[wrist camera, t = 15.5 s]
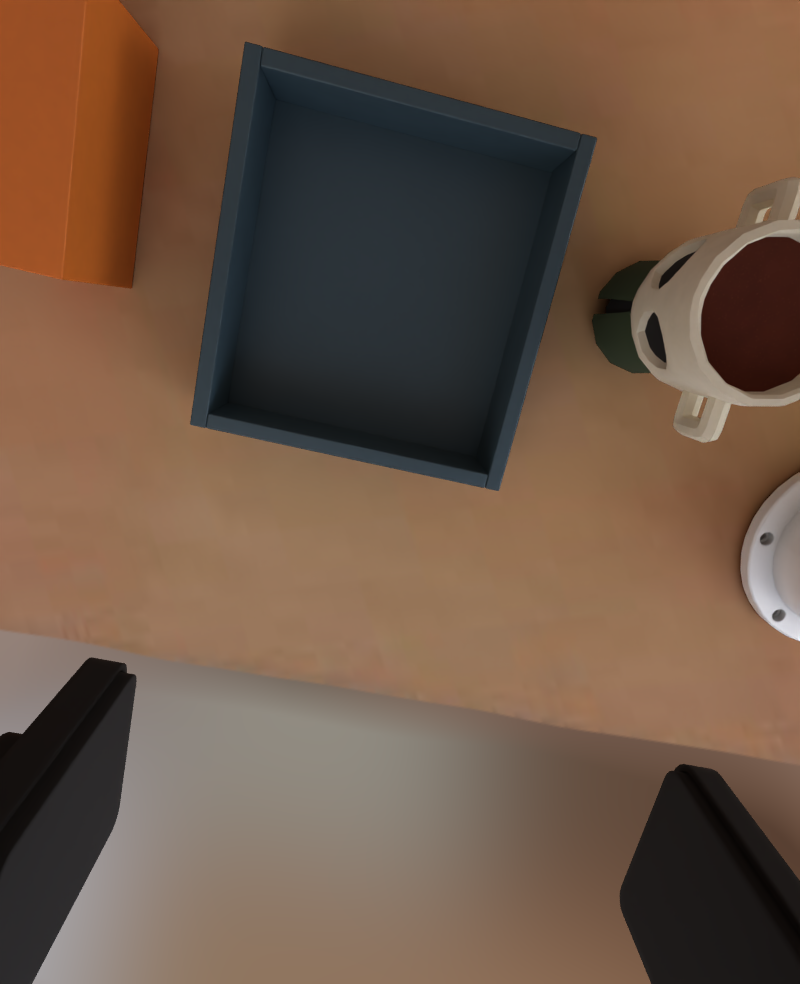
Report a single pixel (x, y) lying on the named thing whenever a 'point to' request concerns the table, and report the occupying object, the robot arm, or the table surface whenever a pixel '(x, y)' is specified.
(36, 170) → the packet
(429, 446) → the bin
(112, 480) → the table surface
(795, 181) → the character mug
